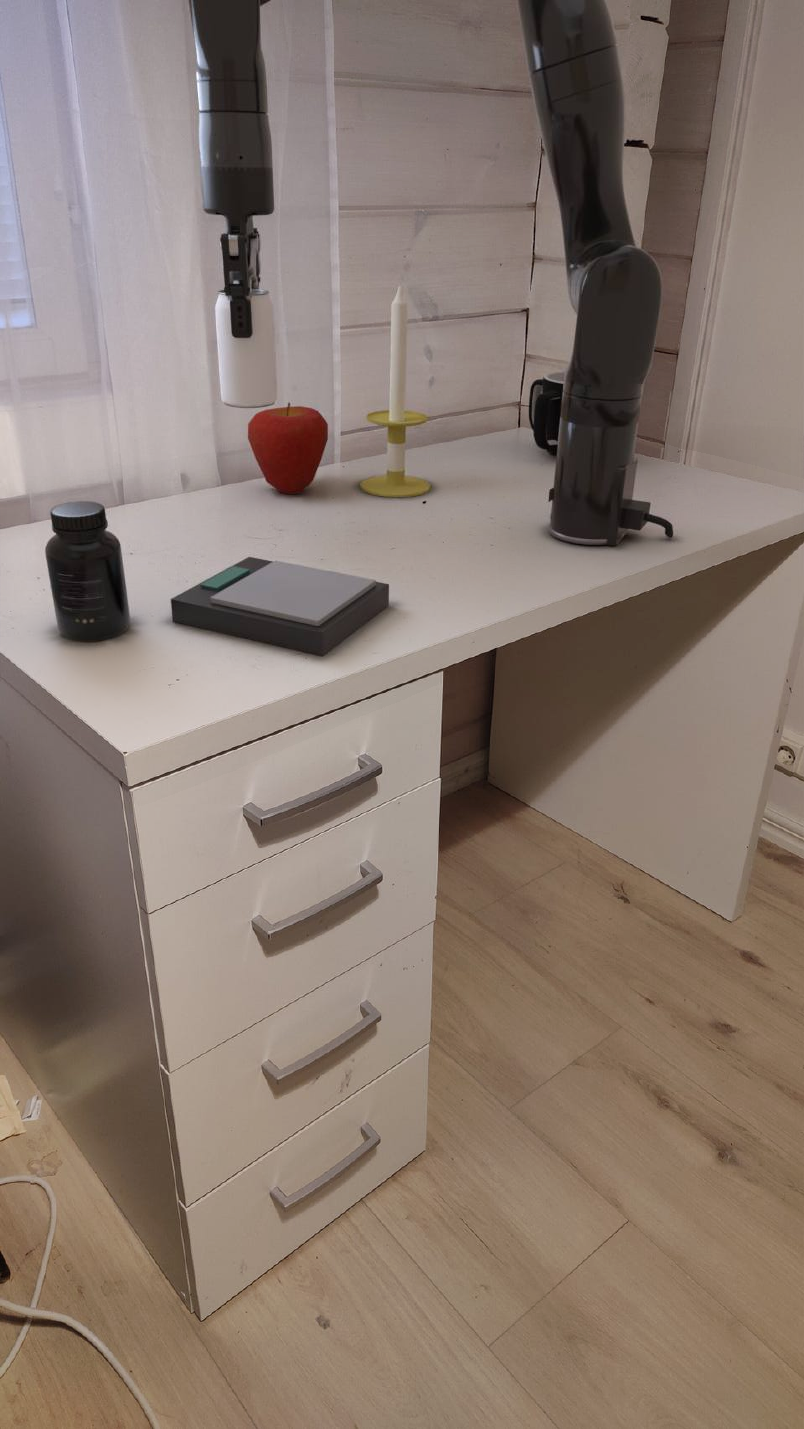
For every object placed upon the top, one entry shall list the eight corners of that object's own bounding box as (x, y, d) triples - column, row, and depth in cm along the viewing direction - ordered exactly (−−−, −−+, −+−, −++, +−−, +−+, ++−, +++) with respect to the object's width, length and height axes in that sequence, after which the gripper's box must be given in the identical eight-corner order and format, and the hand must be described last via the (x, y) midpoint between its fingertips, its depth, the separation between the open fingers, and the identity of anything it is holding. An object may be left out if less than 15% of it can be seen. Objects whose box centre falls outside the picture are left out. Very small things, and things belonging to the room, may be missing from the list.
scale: (388, 605, 105) (389, 578, 103) (322, 656, 93) (322, 626, 92) (250, 577, 111) (248, 551, 109) (172, 621, 100) (169, 593, 98)
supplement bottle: (65, 615, 100) (48, 497, 95) (135, 614, 101) (122, 497, 95) (50, 643, 94) (30, 519, 89) (124, 643, 95) (110, 519, 89)
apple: (282, 476, 147) (279, 390, 141) (344, 488, 142) (343, 400, 137) (234, 493, 139) (229, 403, 133) (298, 507, 134) (295, 414, 128)
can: (267, 410, 114) (261, 295, 108) (212, 406, 115) (204, 293, 109) (285, 399, 119) (280, 289, 113) (233, 396, 120) (226, 287, 114)
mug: (520, 463, 157) (527, 383, 151) (526, 439, 170) (532, 366, 165) (627, 470, 154) (638, 390, 149) (624, 446, 168) (634, 371, 163)
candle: (444, 487, 144) (454, 283, 131) (398, 501, 137) (403, 288, 124) (392, 473, 150) (396, 276, 137) (345, 486, 143) (345, 281, 130)
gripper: (266, 164, 99) (274, 343, 107) (277, 164, 112) (283, 324, 120) (189, 163, 99) (203, 342, 107) (209, 163, 111) (220, 324, 119)
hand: (245, 332), depth 113 cm, fingers closed on can, 6 cm apart
